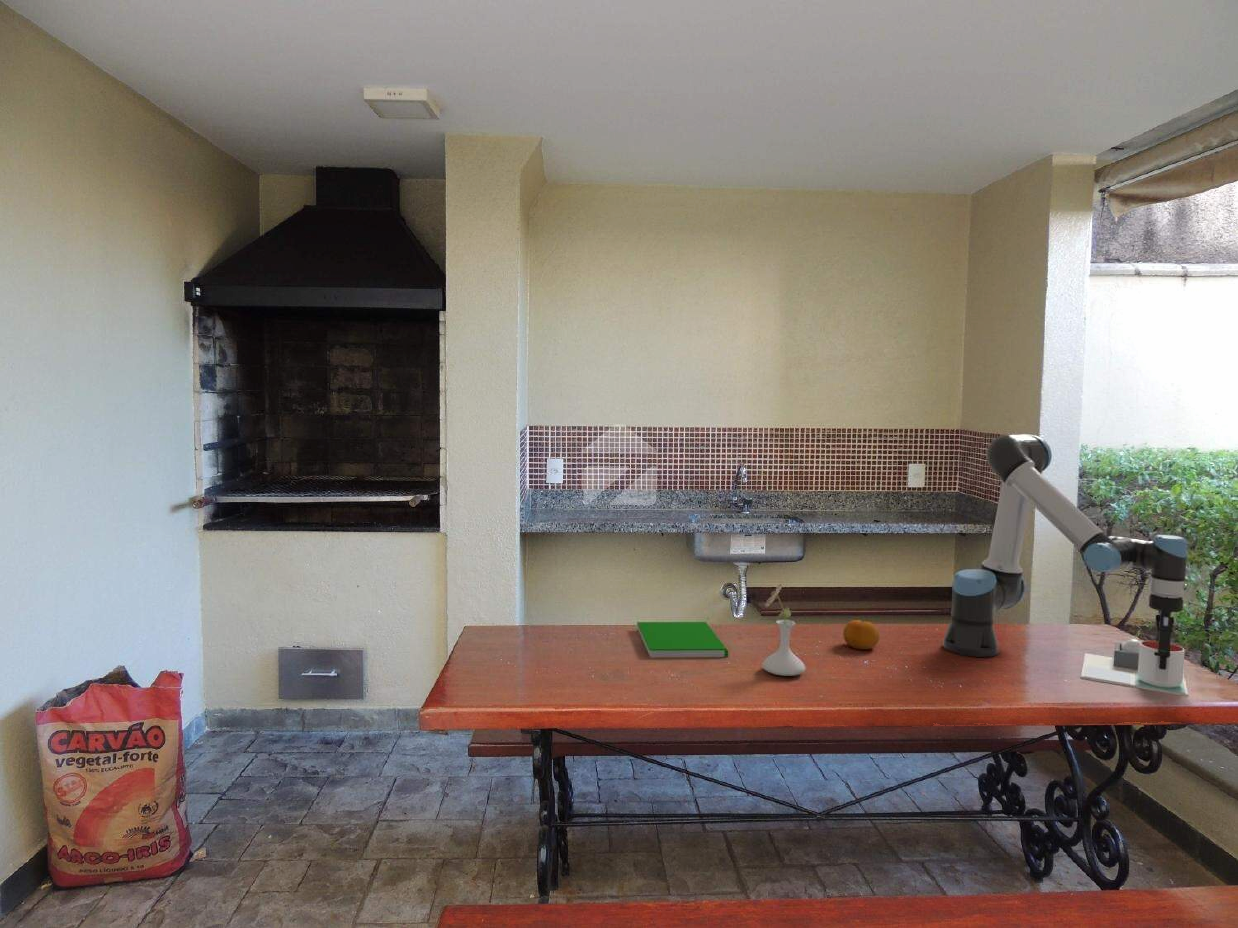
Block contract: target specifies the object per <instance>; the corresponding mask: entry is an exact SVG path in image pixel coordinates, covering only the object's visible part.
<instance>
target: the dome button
mask: <svg viewBox="0 0 1238 928" xmlns="http://www.w3.org/2000/svg"><path fill="white" fill-rule="evenodd" d="M1140 642H1141V640H1139V639H1136V638H1132V639H1128V640H1126V641H1122V642H1121V644H1122V651H1128V652H1135V653H1139V647H1140Z"/></svg>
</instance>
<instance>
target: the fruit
mask: <svg viewBox="0 0 1238 928" xmlns="http://www.w3.org/2000/svg"><path fill="white" fill-rule="evenodd" d="M842 635H843V639H844V641H845V643H847V645H848V646H850V647H851V648H853V649H857V650H869V649H872V648H875V646H876V645H877V644H878V642H879V641H880V632H879V629H878V628H877V626H876V625H875V624H874V623H872V622H870V621H863V620H860V619H854V620H850V621H849V622H847V624H846V625H845V626H844V628H843V634H842Z"/></svg>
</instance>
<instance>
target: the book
mask: <svg viewBox="0 0 1238 928" xmlns="http://www.w3.org/2000/svg"><path fill="white" fill-rule="evenodd" d="M636 624H637V631H638V633H639V636H640V638H641V639H642V642H643V645H644V646H645V649H646V651H647V653H648V656H649V657H650V658H729V650H728V649H727V648H726V646H725V645H724V643H723V642H722V640H720V638H719V637H718V636H717V634H716V633H715V631H714V630H713V629H712V628H711V627H710V625H709V624H708V623H707V622H706V621H648V622H647V621H637V622H636Z"/></svg>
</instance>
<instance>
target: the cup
mask: <svg viewBox="0 0 1238 928" xmlns="http://www.w3.org/2000/svg"><path fill="white" fill-rule="evenodd" d="M1161 651H1162V650H1161ZM1185 651H1186V650H1185V648H1183V647H1182V646H1181V645H1177V644H1174V643H1171V642H1170V656H1169V668H1168V681H1167V682H1164V681H1158V680H1155V671H1156V659H1157V656H1156V655H1154V652H1158V641H1156V640H1143V641H1140V647H1139V661H1138V678H1139V679H1140V680H1141V681H1142V682H1144V683H1146V684H1149V685H1153V686H1157V687H1163V688H1175V687H1178V686H1180V685H1181V684H1182V679H1183V673H1184V664H1185Z"/></svg>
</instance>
